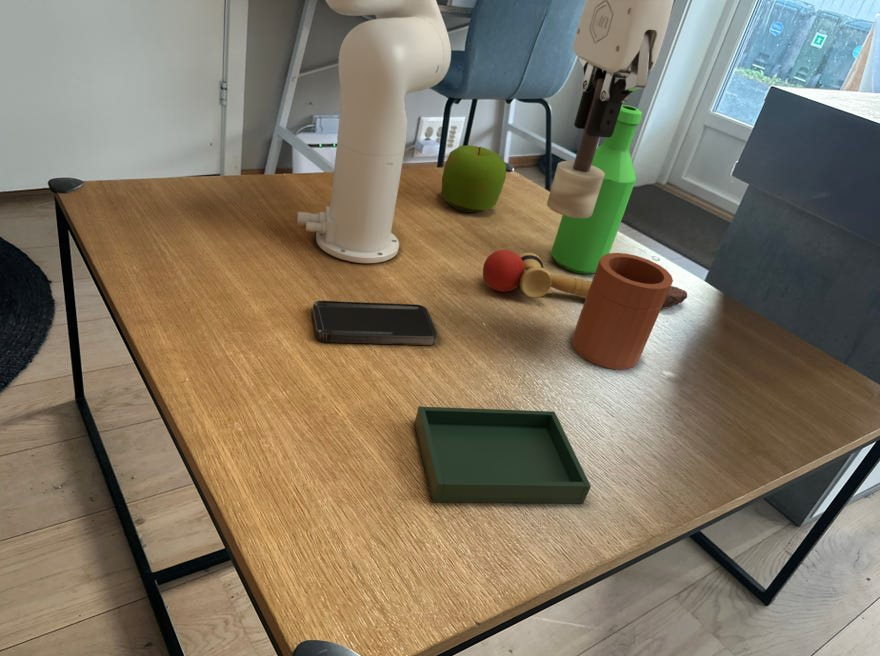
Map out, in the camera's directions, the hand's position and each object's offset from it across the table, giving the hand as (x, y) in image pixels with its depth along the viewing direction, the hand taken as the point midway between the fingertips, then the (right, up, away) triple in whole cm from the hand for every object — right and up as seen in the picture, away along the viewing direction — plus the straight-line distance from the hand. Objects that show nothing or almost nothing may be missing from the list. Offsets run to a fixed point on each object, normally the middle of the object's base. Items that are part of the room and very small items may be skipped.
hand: (592, 130), depth 81 cm
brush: (-1, -8, +5) cm, 10 cm away
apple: (-10, +2, +47) cm, 48 cm away
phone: (-25, -22, +8) cm, 35 cm away
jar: (+5, -25, +13) cm, 28 cm away
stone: (+18, -18, +27) cm, 37 cm away
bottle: (+7, -11, +34) cm, 36 cm away
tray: (-12, -37, -9) cm, 40 cm away
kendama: (-2, -17, +23) cm, 29 cm away
